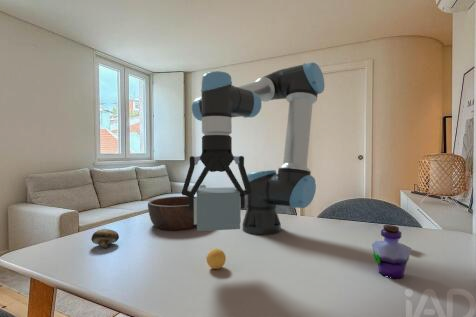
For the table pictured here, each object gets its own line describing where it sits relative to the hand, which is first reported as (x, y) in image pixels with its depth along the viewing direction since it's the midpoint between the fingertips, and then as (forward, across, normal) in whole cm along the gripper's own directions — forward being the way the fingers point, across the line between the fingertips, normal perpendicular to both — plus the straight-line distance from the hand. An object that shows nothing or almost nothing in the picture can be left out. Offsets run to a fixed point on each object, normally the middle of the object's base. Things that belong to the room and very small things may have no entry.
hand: (217, 222), depth 68 cm
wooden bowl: (+13, +13, -49) cm, 52 cm away
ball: (+10, 0, -2) cm, 10 cm away
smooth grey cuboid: (+1, 0, 0) cm, 1 cm away
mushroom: (+13, +35, -25) cm, 45 cm away
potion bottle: (+13, -42, +9) cm, 45 cm away
